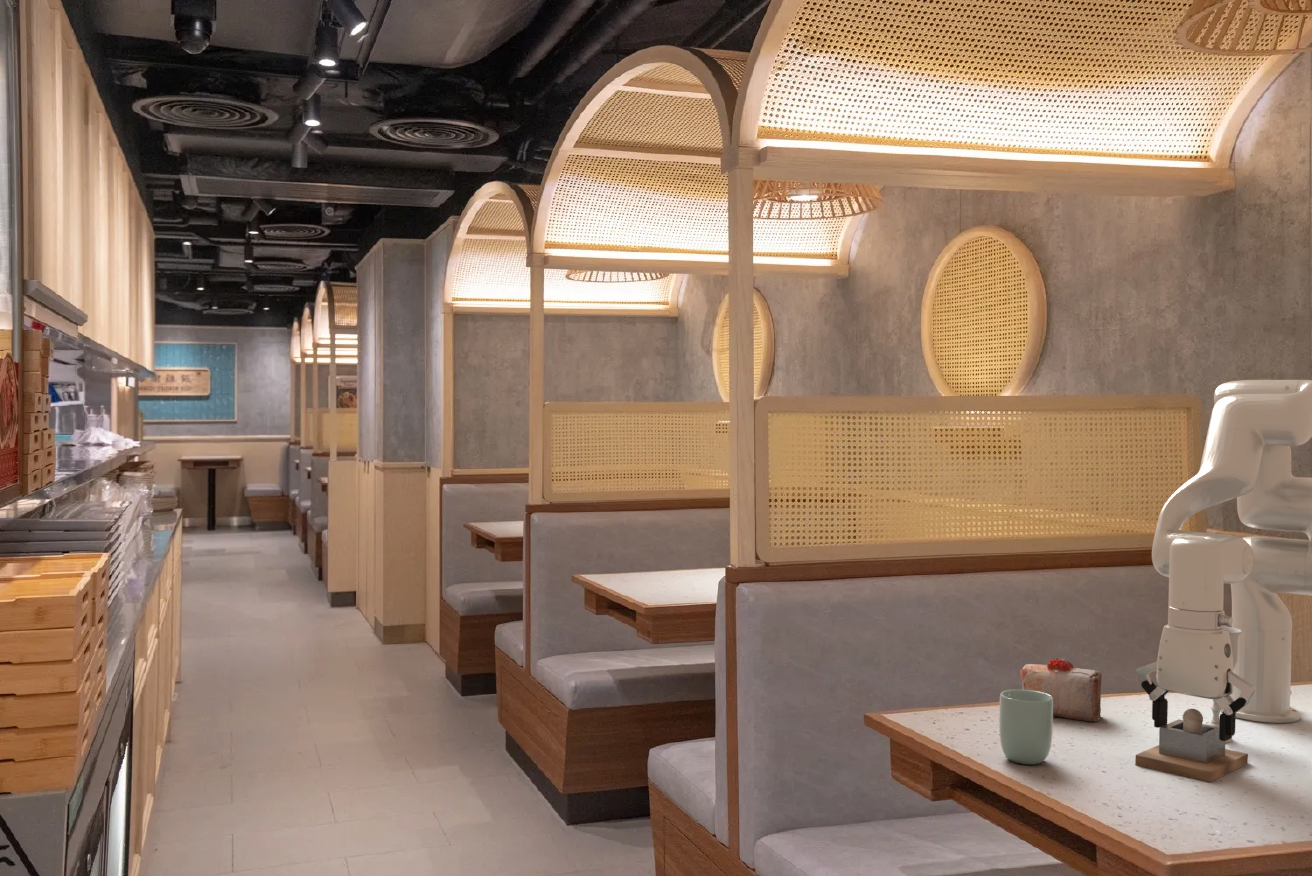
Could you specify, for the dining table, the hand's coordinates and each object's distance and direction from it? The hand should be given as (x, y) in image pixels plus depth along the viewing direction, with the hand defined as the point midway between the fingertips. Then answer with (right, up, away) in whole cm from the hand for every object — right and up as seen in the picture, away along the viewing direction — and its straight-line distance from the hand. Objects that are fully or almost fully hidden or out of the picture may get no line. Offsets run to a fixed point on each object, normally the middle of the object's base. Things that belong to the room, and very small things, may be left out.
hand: (1192, 732), depth 177 cm
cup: (-25, -5, +1) cm, 26 cm away
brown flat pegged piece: (0, -5, 0) cm, 5 cm away
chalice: (+11, -5, +15) cm, 19 cm away
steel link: (0, -3, 0) cm, 3 cm away
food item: (-10, -4, +29) cm, 31 cm away
